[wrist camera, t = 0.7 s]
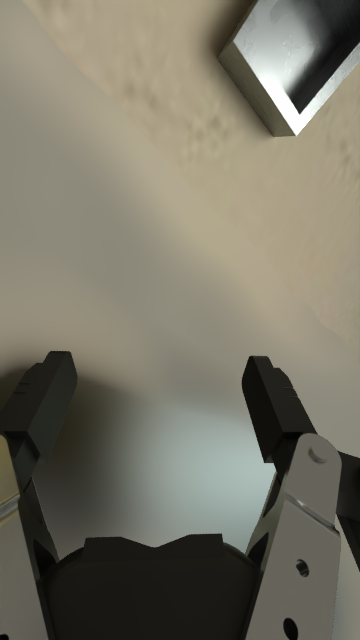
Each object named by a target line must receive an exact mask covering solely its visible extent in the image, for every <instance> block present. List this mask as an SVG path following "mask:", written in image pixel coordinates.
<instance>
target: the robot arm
mask: <svg viewBox="0 0 360 640" xmlns="http://www.w3.org/2000/svg"><path fill="white" fill-rule="evenodd" d="M76 386H77V372H76V369H75V366H74V362H73V358H72V355H71V353H70V352H69V351H50V352H49V353H48V355H47V356H46V358H45V360H44V362H43V363H36V364H35V365H33V366H32V367H31V368H30V369H29V370H28V371H26V372H25V374H24V376H23V377H22V379H21V380H20V382H19V385H17V387H16V388H15V390H14V391H13V394H12V395H11V396H10V398H9V399H8V401H7V403H6V404H5V406H4V407H3V409H2V411H1V412H0V640H331V638H332V629H333V620H334V610H335V600H336V590H337V581H338V571H339V561H340V552H341V537H340V533H339V531H337V530H336V529H335V524H334V523H335V514H337V517H338V519H339V522H340V524H341V526H342V529H343V532H344V534H345V536H346V539H347V542H348V544H349V546H350V548H351V551H352V554H353V556H354V559H355V561H356V564H357V566H358V569H359V571H360V458H358V457H354V456H351V455H348V454H345V453H342V452H339V451H337V450H336V449H335V447H334V446H333V445H332V444H331V443H330V442H329V441H328V440H326V439H325V438H323V437H321V436H319V435H318V434H317V432H316V430H315V429H314V427H313V425H312V423H311V421H310V419H309V417H308V415H307V413H306V411H305V410H304V407H303V405H302V403H301V401H300V399H299V398H298V397H297V394H296V391H295V390H294V389H293V386H292V384H291V382H290V380H289V378H288V376H287V375H286V374H285V373H284V372H283V371H282V370H281V369H280V368H273V365H272V363H271V361H270V359H269V358H268V357H267V356H250V357H249V359H248V362H247V365H246V368H245V371H244V374H243V377H242V390H243V394H244V397H245V400H246V404H247V407H248V410H249V413H250V417H251V420H252V424H253V427H254V430H255V434H256V437H257V441H258V444H259V447H260V450H261V454H262V457H263V460H264V463H274V465H275V468H276V472H275V474H274V477H273V480H272V483H271V486H270V489H269V492H268V495H267V498H266V501H265V504H264V507H263V510H262V513H261V516H260V518H259V521H258V523H257V525H256V527H255V529H254V531H253V533H252V536H251V539H250V541H249V544H248V547H247V549H246V552H245V554H244V553H242V552H241V551H240V550H238V549H237V548H235V547H233V546H231V545H229V544H227V543H224V542H223V538H222V534H191V535H187V536H185V537H182V538H179V539H177V540H174V541H172V542H169V543H167V544H164V545H162V546H159V547H150V546H146V545H143V544H141V543H138V542H134V541H132V540H129V539H126V538H122V537H95V538H86V539H85V544H84V547H82V548H79V549H77V550H76V551H74V552H72V553H70V554H69V555H67V556H66V557H64V558H63V559H62V560H59V556H58V553H57V550H56V546H55V544H54V541H53V539H52V536H51V534H50V532H49V530H48V528H47V525H46V522H45V519H44V515H43V512H42V509H41V505H40V502H39V498H38V495H37V492H36V489H35V485H34V482H33V478H32V476H31V475H32V473H33V470H34V468H35V466H36V464H47V462H48V460H49V457H50V454H51V452H52V449H53V447H54V444H55V441H56V439H57V436H58V434H59V431H60V428H61V425H62V423H63V420H64V418H65V415H66V412H67V410H68V407H69V405H70V402H71V400H72V397H73V394H74V392H75V389H76Z"/></svg>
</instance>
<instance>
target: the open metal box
mask: <svg viewBox="0 0 360 640" xmlns="http://www.w3.org/2000/svg"><path fill="white" fill-rule="evenodd" d="M217 59H218V60H219V62H220V63H221V64H222V66H223V67H224V69H225V70H226V71H227V73H228V74H229V75H230V77H231V78H232V80H233V81H234V82H235V84H236V85H237V87H238V88H239V89H240V91H241V92H242V93H243V95H244V96H245V98H246V99H247V100H248V102H249V103H250V105H251V106H252V107H253V109H254V110H255V111H256V113H257V114H258V116H259V117H260V118H261V120H262V121H263V123H264V124H265V125H266V127H267V128H268V129H269V131H270V132H271V134H272V135H273V136H274V137H281V136H297V134H298V133H299V132H300V131H301V130H302V129H303V127H304V126H305V125H306V124H307V123H308V121H309V120H310V119H311V118H312V117H313V116H314V114H315V113H316V112H317V111H318V110H319V108H320V107H321V106H322V105H323V104H324V102H325V101H326V100H327V99H328V98H329V97H330V95H331V94H332V93H333V92H334V91H335V89H336V88H337V87H338V86H339V85H340V84H341V82H342V81H343V80H344V79H345V78H346V76H347V75H348V74H349V73H350V72H351V71H352V69H353V68H354V67H355V66H356V65H357V63H358V62H359V61H360V0H253V2H252V3H251V5H250V7H249V8H248V10H247V11H246V13H245V14H244V16H243V18H242V19H241V21H240V22H239V24H238V26H237V27H236V29H235V30H234V32H233V34H232V35H231V37H230V38H229V40H228V42H227V43H226V45H225V46H224V48H223V49H222V51H221V53H220V54H219V56H218V57H217Z"/></svg>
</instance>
